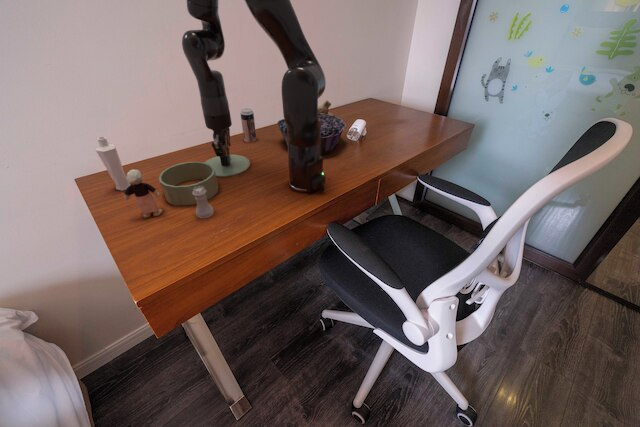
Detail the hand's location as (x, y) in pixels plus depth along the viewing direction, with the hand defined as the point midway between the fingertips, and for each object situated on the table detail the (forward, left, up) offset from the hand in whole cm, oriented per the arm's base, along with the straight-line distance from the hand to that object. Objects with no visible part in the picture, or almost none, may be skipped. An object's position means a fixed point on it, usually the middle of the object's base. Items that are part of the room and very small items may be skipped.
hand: (226, 163), depth 93 cm
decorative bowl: (-9, -34, -2) cm, 35 cm away
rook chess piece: (-17, +20, -2) cm, 26 cm away
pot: (-5, +16, -1) cm, 17 cm away
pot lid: (0, 0, -1) cm, 1 cm away
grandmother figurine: (-6, +29, -2) cm, 29 cm away
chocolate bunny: (+2, -59, -2) cm, 59 cm away
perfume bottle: (+13, +27, -2) cm, 30 cm away
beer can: (+11, -20, -2) cm, 23 cm away
